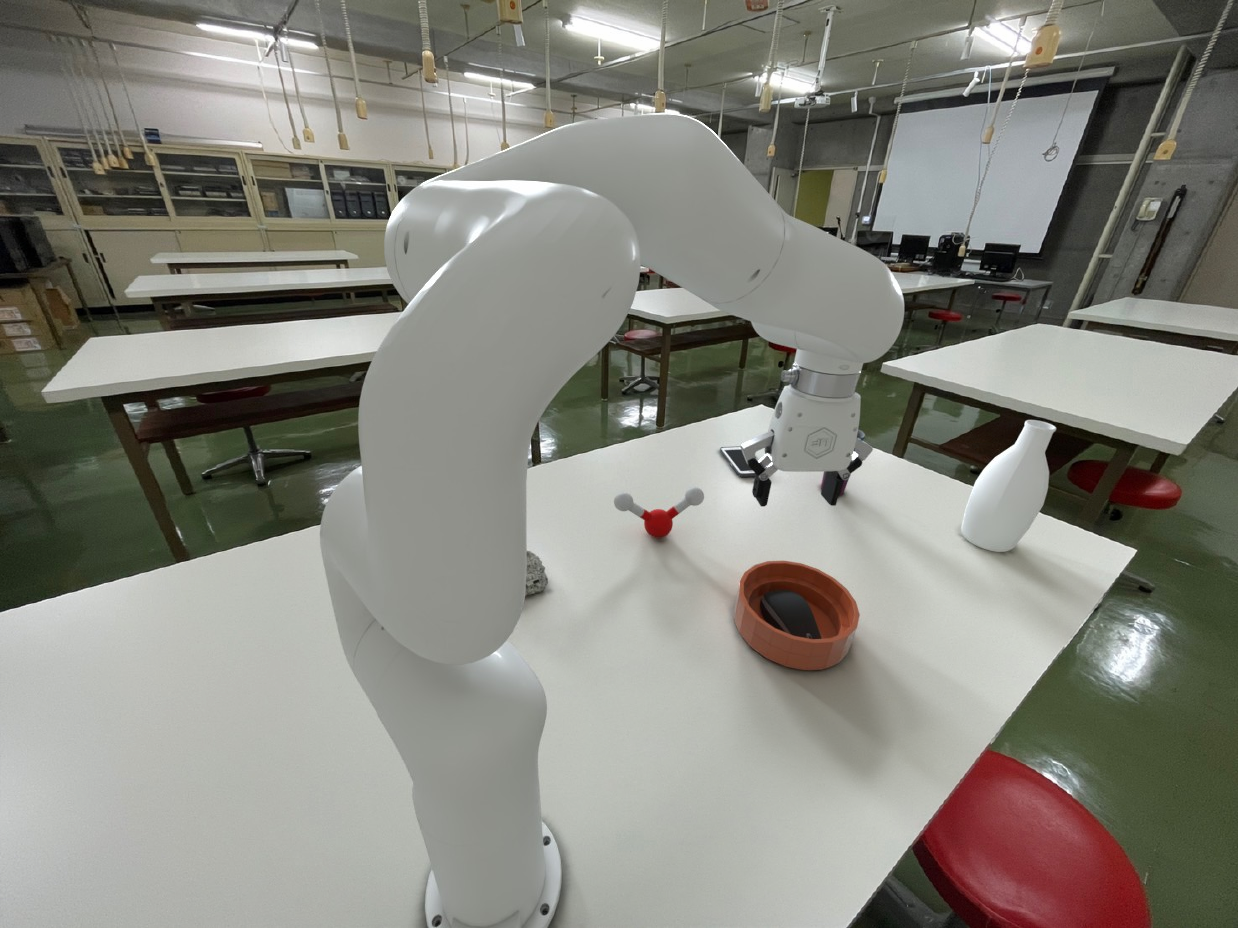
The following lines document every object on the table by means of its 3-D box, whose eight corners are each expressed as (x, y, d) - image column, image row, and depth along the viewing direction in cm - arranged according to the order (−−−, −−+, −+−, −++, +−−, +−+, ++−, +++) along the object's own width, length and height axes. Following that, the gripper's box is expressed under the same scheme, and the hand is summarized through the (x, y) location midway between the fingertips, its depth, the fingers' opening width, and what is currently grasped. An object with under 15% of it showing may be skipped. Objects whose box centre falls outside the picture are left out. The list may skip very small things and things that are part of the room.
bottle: (965, 550, 98) (1020, 432, 85) (946, 519, 107) (993, 409, 95) (1029, 561, 95) (1094, 441, 83) (1004, 528, 105) (1060, 416, 93)
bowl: (871, 668, 72) (883, 639, 69) (755, 676, 70) (762, 646, 67) (817, 585, 87) (825, 558, 84) (720, 589, 85) (725, 562, 82)
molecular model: (691, 520, 103) (696, 478, 99) (703, 536, 98) (710, 493, 94) (610, 532, 99) (612, 489, 94) (618, 550, 94) (620, 505, 89)
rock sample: (527, 595, 77) (509, 543, 79) (494, 612, 80) (477, 561, 82) (567, 584, 86) (549, 537, 88) (535, 599, 89) (519, 553, 91)
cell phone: (745, 449, 134) (746, 445, 133) (769, 476, 121) (770, 472, 120) (718, 450, 132) (719, 447, 132) (739, 477, 120) (739, 474, 119)
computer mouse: (791, 660, 72) (797, 640, 70) (750, 601, 82) (754, 582, 80) (833, 651, 74) (839, 631, 72) (787, 594, 84) (792, 576, 82)
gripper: (764, 390, 56) (740, 517, 64) (909, 391, 58) (868, 515, 66) (744, 370, 62) (724, 487, 70) (874, 371, 64) (841, 486, 72)
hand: (794, 500), depth 68 cm, fingers open, 9 cm apart
